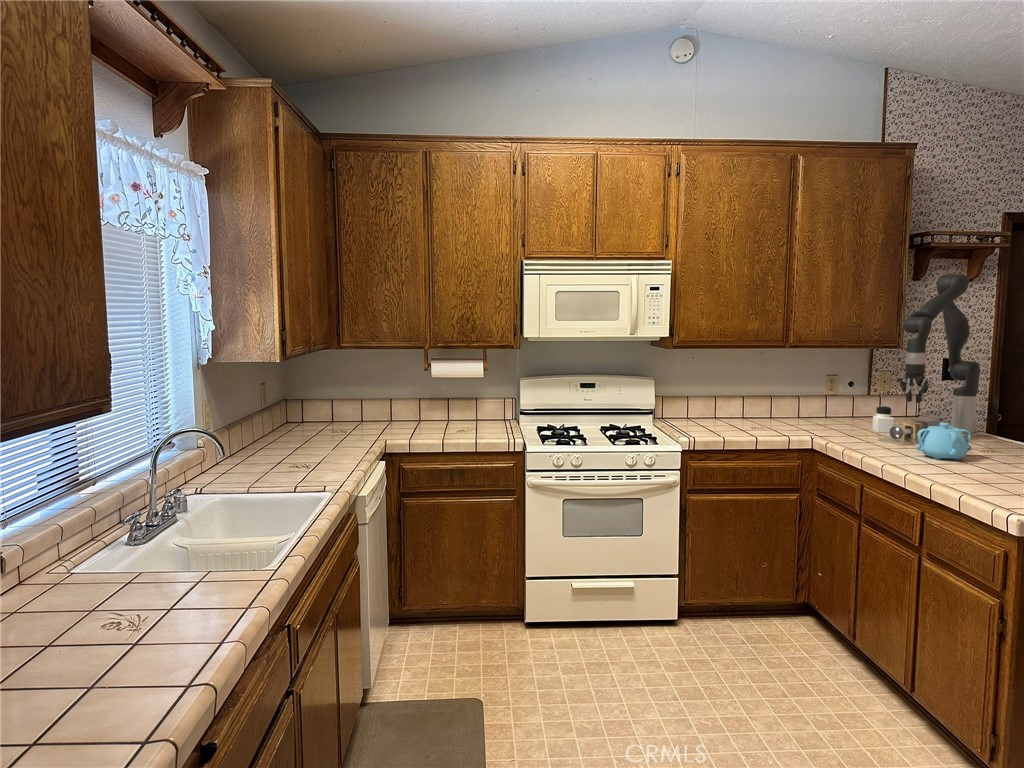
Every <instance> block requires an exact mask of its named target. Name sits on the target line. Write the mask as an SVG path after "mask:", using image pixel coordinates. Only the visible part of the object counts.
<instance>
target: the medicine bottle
mask: <svg viewBox="0 0 1024 768" xmlns="http://www.w3.org/2000/svg"><path fill="white" fill-rule="evenodd" d="M875 412H876V413H875V415H873V416H872V431H873V432H875V433H877V434H881V433H882V434H890V429H891V428H892V427H893V426H895V418H894V417H892V407H889V406H883V405H882V406H880V405H879V406H877V407H876V411H875Z"/></svg>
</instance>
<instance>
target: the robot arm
mask: <svg viewBox="0 0 1024 768" xmlns="http://www.w3.org/2000/svg"><path fill="white" fill-rule="evenodd" d="M968 288H969V278H968V277H967V275H965V274H962V273H956V274H955V273H954V274H952V273H951V274H950V273H949V274H942V275H940V276H939V277H937V280H936V291H937V295H935V296H934V297H932V298H931V299H928V300H927V301H926V302H925V303H924V304H923V305H922V306H921V307H920V309H918V310H917V311H914V312H913V313H912V314H910V315H908V316H906V319H904V321H903V323H902V324H903V325H902V329H903V330H904V331H905V332H906V333H909V334H917V336H916V337H913V338H910V339H908V340H907V342H906V354H905V355H906V356H905V364H904V365H905V369H904V373H905V376H904V377H900V378H898V381H899V384H900V388H901V391H902V392H905V393H906V397H905V399H906V401H907V402H908V403H909V402H910V403H911V402H912V401H913V393H912V392H913V389H915V403H916V404H918V403H919V404H920V403H921V402H922V400H923V399H922V398H923V397H922V396H923V394H926V393H927V392H928V390H929V387H930V385H931V382H932V381H931V379H929V380H928V379H926V377H925V375H926V366H927V365H926V364H927V363H926V361H927V357H926V356H927V355H926V350H927V349H926V347H927V345H926V344H927V341H928V339H929V335H930V332H931V330H932V326H933V324H932V321H934V320H935V319H936V317H937V316H938V315H940V313H941V312H942V317H943V322H944V324H943V325H944V331H945V332H944V333H945V337H946V343H947V348H948V366H949V370H948V371H949V373H950V374H949V375H950V377H951V379H953V380H954V381H963V382H965V383H964V385H962V386H960V387H956V388H953V389H952V404H951V420H950V422H951V423H950V427H954V428H958V429H965V430H967V431H969V432H970V434H973V433H976V430H977V398H978V396H977V394H978V389H979V383H980V376H981V365H980V364H979V363H978V362H977V361H973V360H970V361H969V360H962V356H961V355H962V353H961V352H962V350H963V347H964V346H965V345H966V343H967V341H968V340H969V337H970V335H971V331H970V324H969V319H968V318H967V316H966V315H965V314H964V312H962V311H961V309H960V308H959V307H958V306H957V305H956V303H955V302H954V301H955V300H957V299H958V298H960V296H962V295H963V294H964V293H965V292H966V291H967V290H968ZM962 433H963V434H967V433H966V432H962Z"/></svg>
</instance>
